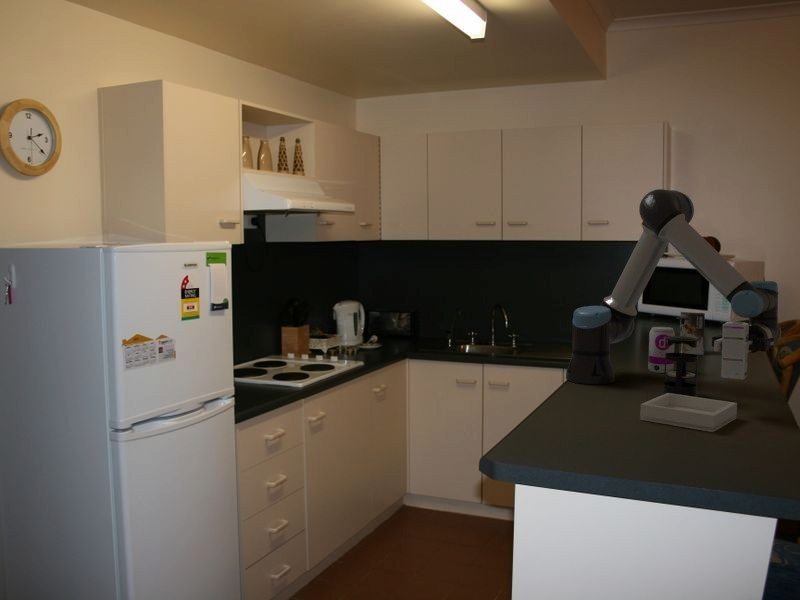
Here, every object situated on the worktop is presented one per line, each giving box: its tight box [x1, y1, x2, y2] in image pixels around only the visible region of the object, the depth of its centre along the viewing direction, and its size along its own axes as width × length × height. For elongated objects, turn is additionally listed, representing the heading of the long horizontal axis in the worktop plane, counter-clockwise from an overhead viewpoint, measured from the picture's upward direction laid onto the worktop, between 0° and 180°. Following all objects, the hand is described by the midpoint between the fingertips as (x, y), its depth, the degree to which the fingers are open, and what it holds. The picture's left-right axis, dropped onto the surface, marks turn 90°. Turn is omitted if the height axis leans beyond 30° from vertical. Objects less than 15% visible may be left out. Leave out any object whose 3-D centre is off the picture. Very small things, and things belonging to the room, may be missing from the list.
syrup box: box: [720, 321, 749, 380], centre depth 198 cm, size 6×6×14 cm
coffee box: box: [678, 311, 706, 356], centre depth 297 cm, size 9×6×16 cm
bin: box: [639, 393, 738, 433], centre depth 192 cm, size 18×18×4 cm
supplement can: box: [647, 326, 676, 374], centre depth 258 cm, size 8×8×15 cm
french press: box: [662, 316, 699, 397], centre depth 219 cm, size 12×9×23 cm
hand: (729, 347), depth 194 cm, fingers closed on syrup box, 6 cm apart
